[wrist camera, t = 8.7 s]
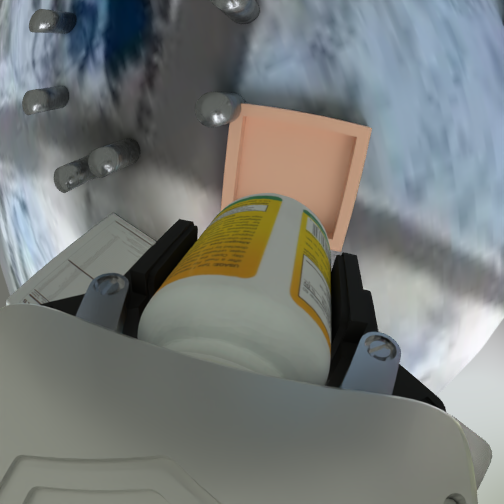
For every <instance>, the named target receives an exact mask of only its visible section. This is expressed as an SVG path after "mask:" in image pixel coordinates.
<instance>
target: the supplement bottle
mask: <svg viewBox="0 0 504 504" xmlns="http://www.w3.org/2000/svg"><path fill="white" fill-rule="evenodd" d="M331 329H332V328H331V254H330V245H329V240H328V236H327V234H326V231H325V229H324V227H323V225H322V223H321V222H320V220H319V219H318V218H317V216H316V215H315V214H314V213H313V212H312V211H311V210H310V209H309V208H307V207H306V206H305V205H303V204H302V203H300V202H298V201H297V200H295V199H292V198H290V197H287V196H284V195H280V194H275V193H260V194H253V195H249V196H245V197H242V198H240V199H238V200H235V201H234V202H232V203H230V204H229V205H228V206H226V207H225V208H224V209H223V210H222V211H221V212H220V213H219V214H218V215H217V216H216V217H215V219H214V220H213V221H212V222H211V224H210V225H209V226H208V227H207V228H206V230H205V231H204V232H203V234H202V235H201V236H200V237H199V239H198V240H197V241H196V242H195V244H194V245H193V246H192V247H191V248H190V250H189V251H188V252H187V253H186V255H185V256H184V257H183V259H182V260H181V261H180V262H179V264H178V265H177V266H176V267H175V268H174V270H173V271H172V272H171V274H170V275H169V276H168V277H167V279H166V280H165V281H164V283H163V284H162V285H161V287H160V288H159V289H158V290H157V292H156V293H155V294H154V296H153V297H152V298H151V300H150V301H149V303H148V304H147V306H146V307H145V309H144V311H143V313H142V316H141V318H140V322H139V326H138V336H137V337H138V339H139V340H142V341H145V342H148V343H151V344H154V345H157V346H160V347H164V348H167V349H170V350H174V351H177V352H180V353H184V354H187V355H191V356H194V357H198V358H201V359H205V360H209V361H212V362H216V363H220V364H224V365H228V366H232V367H236V368H240V369H244V370H249V371H253V372H257V373H262V374H266V375H271V376H276V377H281V378H286V379H291V380H296V381H301V382H307V383H312V384H318V385H324V386H325V384H326V381H327V378H328V374H329V370H330V359H331Z"/></svg>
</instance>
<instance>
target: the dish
mask: <svg viewBox="0 0 504 504" xmlns="http://www.w3.org/2000/svg"><path fill="white" fill-rule="evenodd" d="M371 130H372V128H370V127H368V126H365V125H361V124H357V123H353V122H349V121H345V120H340V119H336V118H331V117H327V116H322V115H317V114H312V113H307V112H301V111H296V110H290V109H284V108H278V107H271V106H264V105H257V104H249V103H241V113H240V115H239V117H238V118H237V119H236V120H235V121H233V122H231V123H230V124H229V133H228V142H227V152H226V161H225V171H224V181H223V191H222V202H221V211H222V210H223V209H224V208H225V207H226V206H228V205H229V204H230V203H232V202H234V201H235V200H238V199H240V198H242V197H245V196H249V195H253V194H260V193H275V194H280V195H284V196H287V197H290V198H292V199H295V200H297V201H298V202H300V203H302V204H303V205H305V206H306V207H307V208H309V209H310V210H311V211H312V212H313V213H314V214H315V215H316V216H317V218H318V219H319V220H320V222H321V223H322V225H323V227H324V229H325V231H326V234H327V236H328V240H329V245H330V250H334V251H339V252H341V250H342V246H343V243H344V239H345V236H346V232H347V229H348V225H349V222H350V218H351V214H352V211H353V207H354V203H355V199H356V195H357V191H358V187H359V183H360V179H361V175H362V171H363V166H364V162H365V158H366V153H367V149H368V144H369V139H370V135H371Z"/></svg>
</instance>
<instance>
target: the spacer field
mask: <svg viewBox="0 0 504 504" xmlns="http://www.w3.org/2000/svg"><path fill="white" fill-rule="evenodd" d="M211 2H212V3H213V4H214V5H215V6H216V7H217V8H219V9H220V10H221V11H222V12H223V13H225V14H226V15H227V16H228V17H229V18H231V19H232V20H233V21H234V22H236V23H239V24H247V23H251V22H253V21H254V20H255V19H256V18H257V17H258V15H259V12H260V8H259V5H258V4H257V2H256V1H255V0H211ZM75 24H76V15H75V14H74V13H69V12H62V11H54V10H45V9H39V10H37V11H36V12H35V13H34V14H33V15H32V17H31V19H30V23H29V29H30V31H31V32H41V33H61V34H67V33H69V32H70V31H71V30H72V29H73V28H74V26H75ZM68 99H69V92H68V89H67V88H66V87H65V86H58V87H50V88H43V89H36V90H29V91H27V92H26V93H25V95H24V97H23V102H22V107H23V110H24V112H25V114H27V115H31V114H35V113H39V112H44V111H49V110H53V109H58V108H63V107H64V106H65V105H66V104H67V102H68ZM241 103H245V100H244V99H243V97H242V96H240V95H239V94H237V93H229V92H209V93H206V94H204V95H202V96H201V97H200V98H199V99H198V101H197V103H196V106H195V114H196V117H197V119H198V120H199V122H200V123H202V124H203V125H205V126H207V127H218V126H221V125H225V124H228V123H231V122H233V121H235V120H236V119H237V118H238V117H239V115H240V113H241ZM139 156H140V147H139V145H138V143H137V142H136V141H135V140H133V139H130V138H129V139H124V140H121V141H118V142H115V143H112V144H109V145H106V146H103V147H100V148H97V149H95V150H93V151H92V152H91V153H90V155H89V156H86V157H84V158H81V159H79V160H76V161H74V162H71V163H69V164H66V165H64V166H61V167H59V168H57V169H56V171H55V173H54V182H55V185H56V187H57V188H58V190H59V191H61V192H63V193H66V192H68V191H70V190H72V189H74V188H76V187H78V186H80V185H82V184H83V183H85V182H87V181H89V180H91V179H94V178H96V177H105V176H107V175H109V174H111V173H113V172H115V171H117V170H119V169H121V168H124V167H126V166H128V165H130V164H132V163H134V162H136V161H137V160H138V158H139Z"/></svg>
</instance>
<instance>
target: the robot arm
mask: <svg viewBox="0 0 504 504" xmlns="http://www.w3.org/2000/svg"><path fill="white" fill-rule="evenodd" d="M197 233H198V228H197V226H194V223H193V222H191V221H186V220H181V219H179V220H178V221H177V222H176V223H175V224H174V225H173V226H172V227H171V228H170V229H169V230H168V231H167V232H166V233H165V234H164V235H163V236H162V237H161V238H160V239H159V240H158V241H157V242H156V243H155V244H154V245H153V246H151V247H150V248H149V249H148V250H147V251H146V252H145V253H144V254H143V255H142V256H141V257H140V259H139V260H138V261H137V262H136V263H135V264H134V265H133V266H132V267H131V268H130V269H129V270H128V271H127V272H126V273H125V274H124V275H121V274H118V273H106V274H102V275H100V276H97V277H96V278H94V279H93V280H92V281H91V283H90V285H89V287H88V289H87V291H86V293H85V294H81V295H77V296H72V297H68V298H64V299H60V300H55V301H51V302H47V303H43V304H40V305H36V304H23V303H20V304H11V305H8V306H5V307H3V308H1V309H0V504H478V500H477V490H478V488H479V486H480V484H481V482H482V480H483V478H484V476H485V474H486V471H487V469H488V467H489V465H490V463H491V459H492V451H491V448H490V446H489V444H488V443H487V442H486V441H485V440H483V439H482V438H481V437H479V436H478V435H477V434H476V433H474V432H473V431H472V430H470V429H469V428H468V427H466V426H465V425H464V424H463V423H461V422H460V421H459V420H457V419H456V418H455V417H453V416H451V415H449V414H448V413H447V412H446V409H445V406H444V404H443V402H442V401H441V400H440V399H439V398H438V397H437V396H436V395H435V394H434V393H433V392H431V391H430V390H429V389H428V388H427V387H426V386H424V385H423V384H422V383H421V382H420V381H419V380H417V379H416V378H415V377H414V376H413V375H412V374H410V373H409V372H408V371H407V370H406V369H405V368H403V367H402V366H401V365H400V364H399V362H400V357H401V350H400V347H399V345H398V344H397V342H396V341H395V340H394V339H392V338H391V337H390V336H388V335H386V334H384V333H380V332H378V327H377V322H376V316H375V311H374V305H373V300H372V295H371V292H370V291H368V290H363V286H362V280H361V275H360V270H359V264H358V259H357V255H353V254H348V253H342V255H341V256H340V255H337V256H336V258H335V262H334V265H333V268H332V272H331V328H332V329H331V359H330V370H329V374H328V378H327V381H326V384H325V386H324V385H318V384H312V383H307V382H301V381H296V380H291V379H286V378H281V377H276V376H271V375H266V374H262V373H257V372H253V371H249V370H244V369H240V368H236V367H232V366H228V365H224V364H220V363H216V362H212V361H209V360H205V359H201V358H198V357H194V356H191V355H187V354H184V353H180V352H177V351H174V350H170V349H167V348H164V347H160V346H157V345H154V344H151V343H148V342H145V341H142V340H139V339H138V337H137V336H138V326H139V322H140V318H141V316H142V313H143V311H144V309H145V307H146V306H147V304H148V303H149V301H150V300H151V298H152V297H153V296H154V294H155V293H156V292H157V290H158V289H159V288H160V287H161V285H162V284H163V283H164V281H165V280H166V279H167V277H168V276H169V275H170V274H171V272H172V271H173V270H174V268H175V267H176V266H177V265H178V264H179V262H180V261H181V260H182V259H183V257H184V256H185V255H186V253H187V252H188V251H189V250H190V248H191V247H192V246H193V245H194V244H195V242H196V241H197Z"/></svg>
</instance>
